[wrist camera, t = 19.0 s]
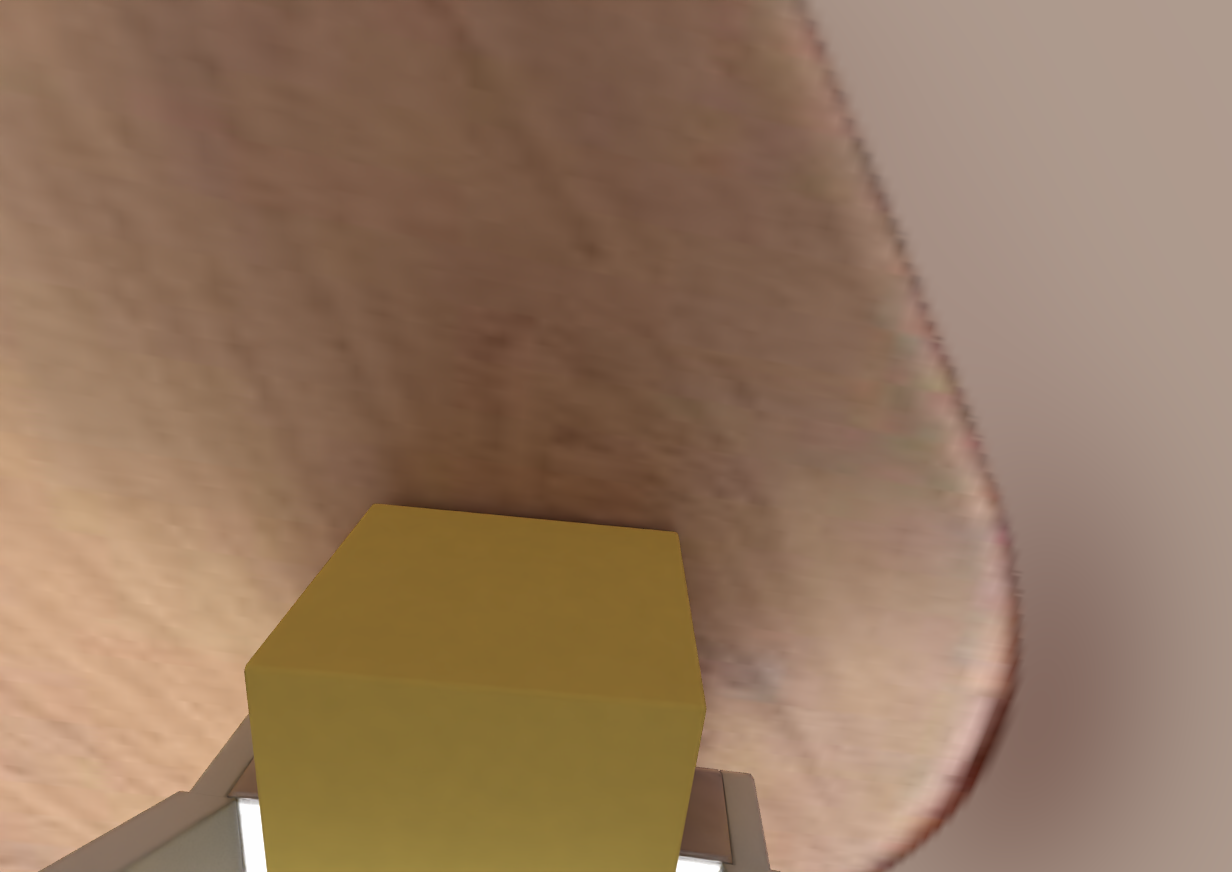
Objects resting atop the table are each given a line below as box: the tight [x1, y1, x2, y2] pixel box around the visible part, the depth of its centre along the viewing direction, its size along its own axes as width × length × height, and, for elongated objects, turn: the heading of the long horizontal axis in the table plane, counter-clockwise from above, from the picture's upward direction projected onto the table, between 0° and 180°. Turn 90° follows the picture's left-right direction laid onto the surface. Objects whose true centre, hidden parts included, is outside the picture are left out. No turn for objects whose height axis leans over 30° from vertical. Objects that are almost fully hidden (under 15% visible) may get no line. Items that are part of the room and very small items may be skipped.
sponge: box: [244, 504, 706, 872], centre depth 10 cm, size 8×5×4 cm, turn 174°
